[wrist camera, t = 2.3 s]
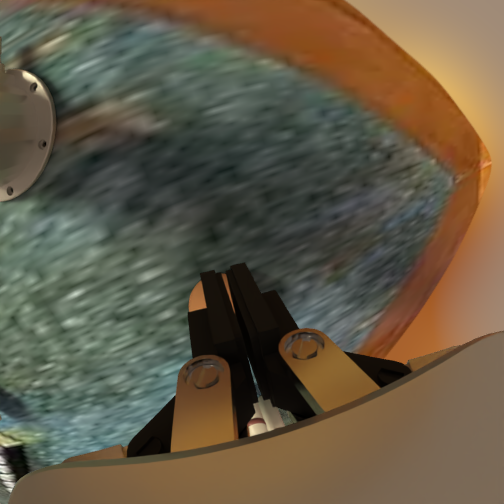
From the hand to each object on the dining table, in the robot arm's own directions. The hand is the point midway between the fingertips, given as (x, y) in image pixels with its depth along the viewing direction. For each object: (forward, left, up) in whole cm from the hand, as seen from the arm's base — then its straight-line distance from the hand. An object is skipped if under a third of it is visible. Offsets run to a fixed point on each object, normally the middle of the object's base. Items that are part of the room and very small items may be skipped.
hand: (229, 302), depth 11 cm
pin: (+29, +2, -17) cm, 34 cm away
